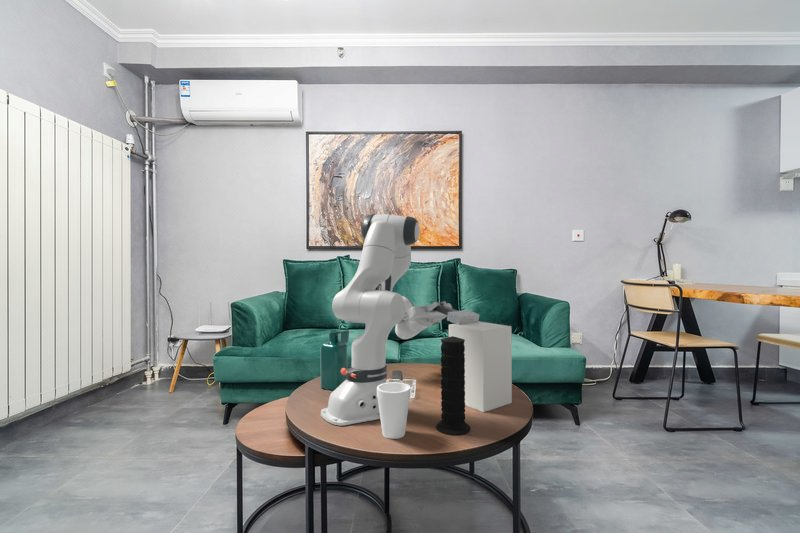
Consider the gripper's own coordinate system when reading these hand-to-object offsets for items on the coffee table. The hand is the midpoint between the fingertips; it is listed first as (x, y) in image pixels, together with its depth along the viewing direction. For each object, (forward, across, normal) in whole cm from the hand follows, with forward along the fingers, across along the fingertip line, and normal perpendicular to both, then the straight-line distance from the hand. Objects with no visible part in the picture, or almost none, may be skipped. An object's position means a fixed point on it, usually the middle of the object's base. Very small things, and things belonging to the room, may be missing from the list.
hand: (440, 303), depth 152 cm
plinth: (+1, 0, +38) cm, 38 cm away
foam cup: (+5, -39, +40) cm, 56 cm away
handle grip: (+11, -23, +43) cm, 50 cm away
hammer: (+2, 0, +6) cm, 6 cm away
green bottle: (-37, -33, +16) cm, 52 cm away
